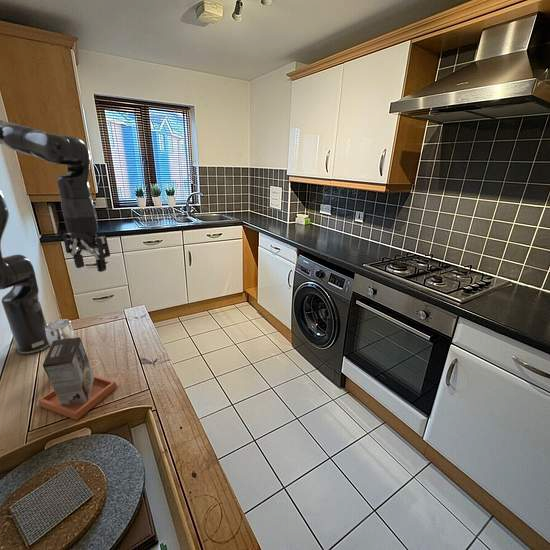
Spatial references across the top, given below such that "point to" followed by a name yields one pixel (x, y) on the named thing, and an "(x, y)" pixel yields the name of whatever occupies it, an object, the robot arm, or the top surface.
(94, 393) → the tray
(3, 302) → the robot arm
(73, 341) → the coffee box
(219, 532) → the top surface
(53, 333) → the beer glass
